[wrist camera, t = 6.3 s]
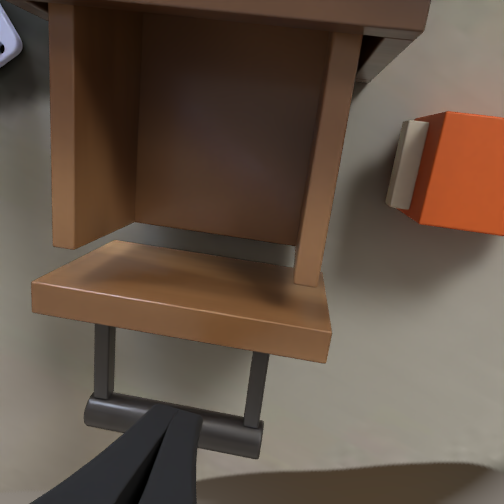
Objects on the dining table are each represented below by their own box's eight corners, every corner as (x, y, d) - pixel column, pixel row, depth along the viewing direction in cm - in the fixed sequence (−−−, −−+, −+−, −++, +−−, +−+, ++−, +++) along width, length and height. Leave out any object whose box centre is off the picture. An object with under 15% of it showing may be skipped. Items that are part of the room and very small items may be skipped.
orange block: (523, 225, 18) (584, 247, 14) (376, 205, 18) (396, 221, 15) (552, 135, 17) (626, 131, 13) (395, 116, 17) (422, 107, 14)
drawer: (302, 385, 20) (301, 486, 14) (111, 351, 21) (35, 432, 15) (371, 3, 16) (415, -86, 10) (120, -21, 16) (15, -117, 10)
